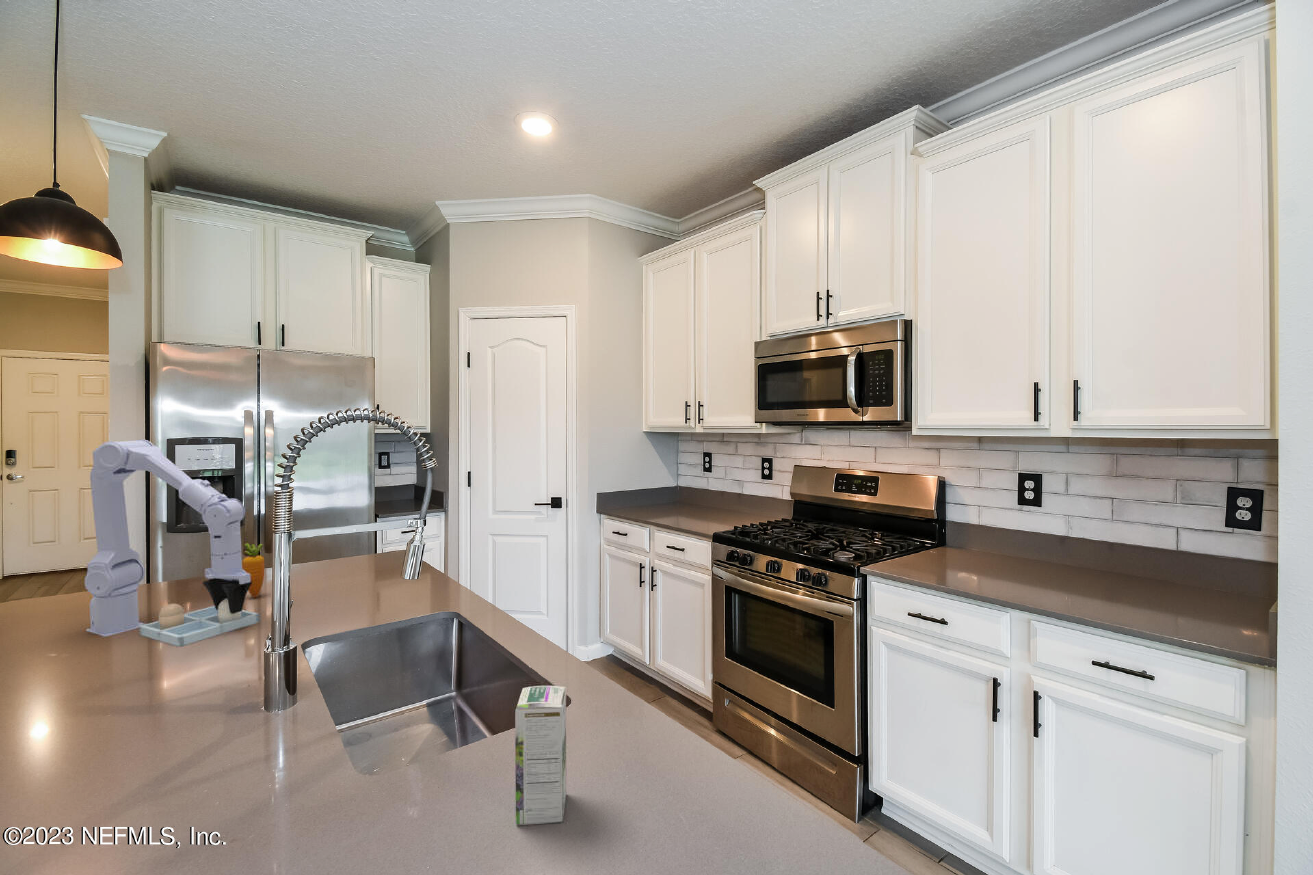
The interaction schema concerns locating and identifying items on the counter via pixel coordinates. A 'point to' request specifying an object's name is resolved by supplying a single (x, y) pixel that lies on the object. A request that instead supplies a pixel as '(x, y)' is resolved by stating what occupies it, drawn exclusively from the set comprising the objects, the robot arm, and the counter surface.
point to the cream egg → (226, 613)
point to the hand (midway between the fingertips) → (228, 610)
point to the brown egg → (171, 616)
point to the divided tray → (197, 627)
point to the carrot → (254, 568)
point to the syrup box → (540, 755)
